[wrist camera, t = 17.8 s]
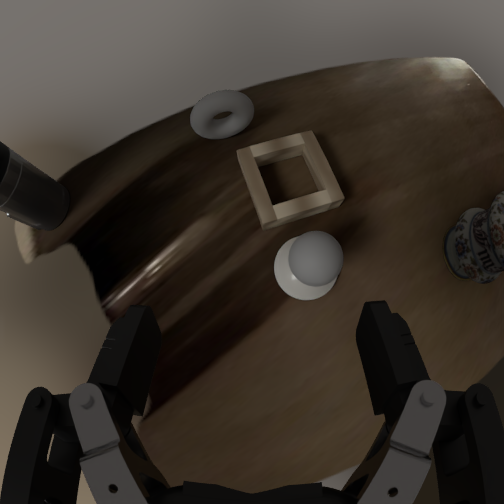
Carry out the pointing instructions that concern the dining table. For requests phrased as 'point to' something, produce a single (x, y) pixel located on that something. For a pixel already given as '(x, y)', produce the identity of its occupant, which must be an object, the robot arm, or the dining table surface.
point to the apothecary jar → (477, 243)
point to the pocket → (282, 150)
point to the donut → (217, 104)
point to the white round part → (290, 281)
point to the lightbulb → (315, 258)
